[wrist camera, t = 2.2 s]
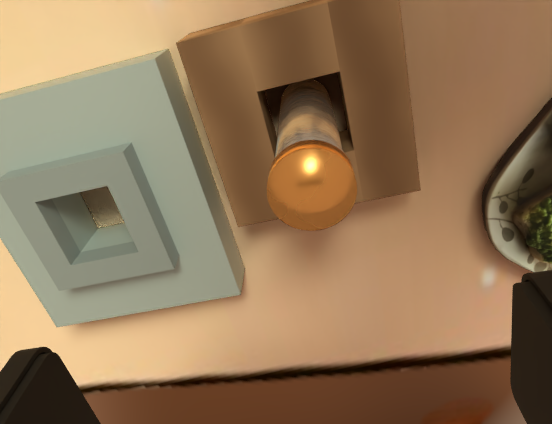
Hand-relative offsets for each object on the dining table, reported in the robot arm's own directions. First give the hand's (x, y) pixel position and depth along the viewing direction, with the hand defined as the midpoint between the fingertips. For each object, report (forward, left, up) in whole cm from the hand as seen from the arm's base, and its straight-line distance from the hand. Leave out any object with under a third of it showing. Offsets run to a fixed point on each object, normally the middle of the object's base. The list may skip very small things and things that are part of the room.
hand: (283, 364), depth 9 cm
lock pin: (-1, +1, -21) cm, 21 cm away
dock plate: (+13, +4, -21) cm, 25 cm away
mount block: (-1, +1, -21) cm, 21 cm away
